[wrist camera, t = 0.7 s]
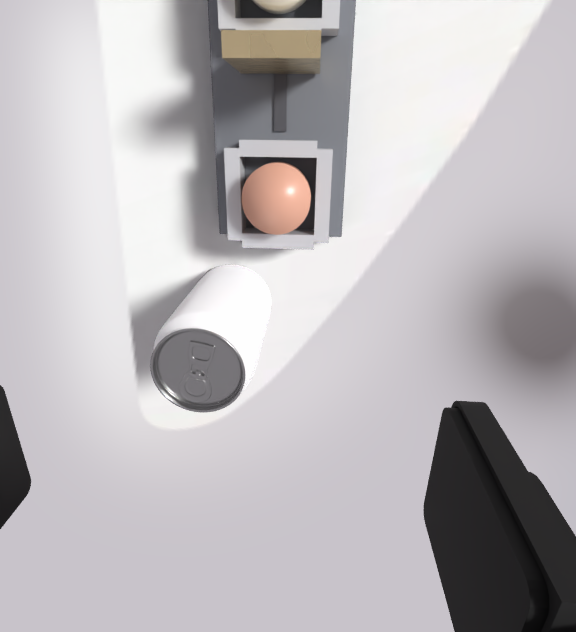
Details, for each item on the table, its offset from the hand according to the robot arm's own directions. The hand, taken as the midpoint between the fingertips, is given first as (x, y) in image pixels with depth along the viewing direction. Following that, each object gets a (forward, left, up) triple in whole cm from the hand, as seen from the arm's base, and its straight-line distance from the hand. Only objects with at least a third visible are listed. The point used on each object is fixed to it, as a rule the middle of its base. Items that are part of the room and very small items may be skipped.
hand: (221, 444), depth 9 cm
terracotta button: (-2, -1, -22) cm, 23 cm away
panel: (-9, -1, -26) cm, 27 cm away
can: (+7, -5, -26) cm, 27 cm away
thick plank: (-10, -1, -24) cm, 26 cm away
